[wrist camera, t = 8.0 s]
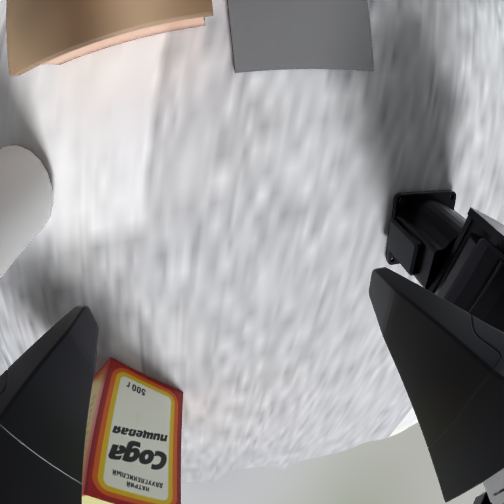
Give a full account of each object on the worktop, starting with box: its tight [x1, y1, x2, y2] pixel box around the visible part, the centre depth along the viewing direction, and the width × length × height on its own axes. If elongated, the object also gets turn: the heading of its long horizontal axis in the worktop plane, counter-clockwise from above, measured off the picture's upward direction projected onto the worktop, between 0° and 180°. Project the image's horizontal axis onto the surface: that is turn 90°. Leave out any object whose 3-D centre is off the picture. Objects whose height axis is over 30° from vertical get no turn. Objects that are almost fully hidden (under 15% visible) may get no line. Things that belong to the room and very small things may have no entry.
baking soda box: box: [82, 358, 183, 504], centre depth 25 cm, size 10×6×16 cm
